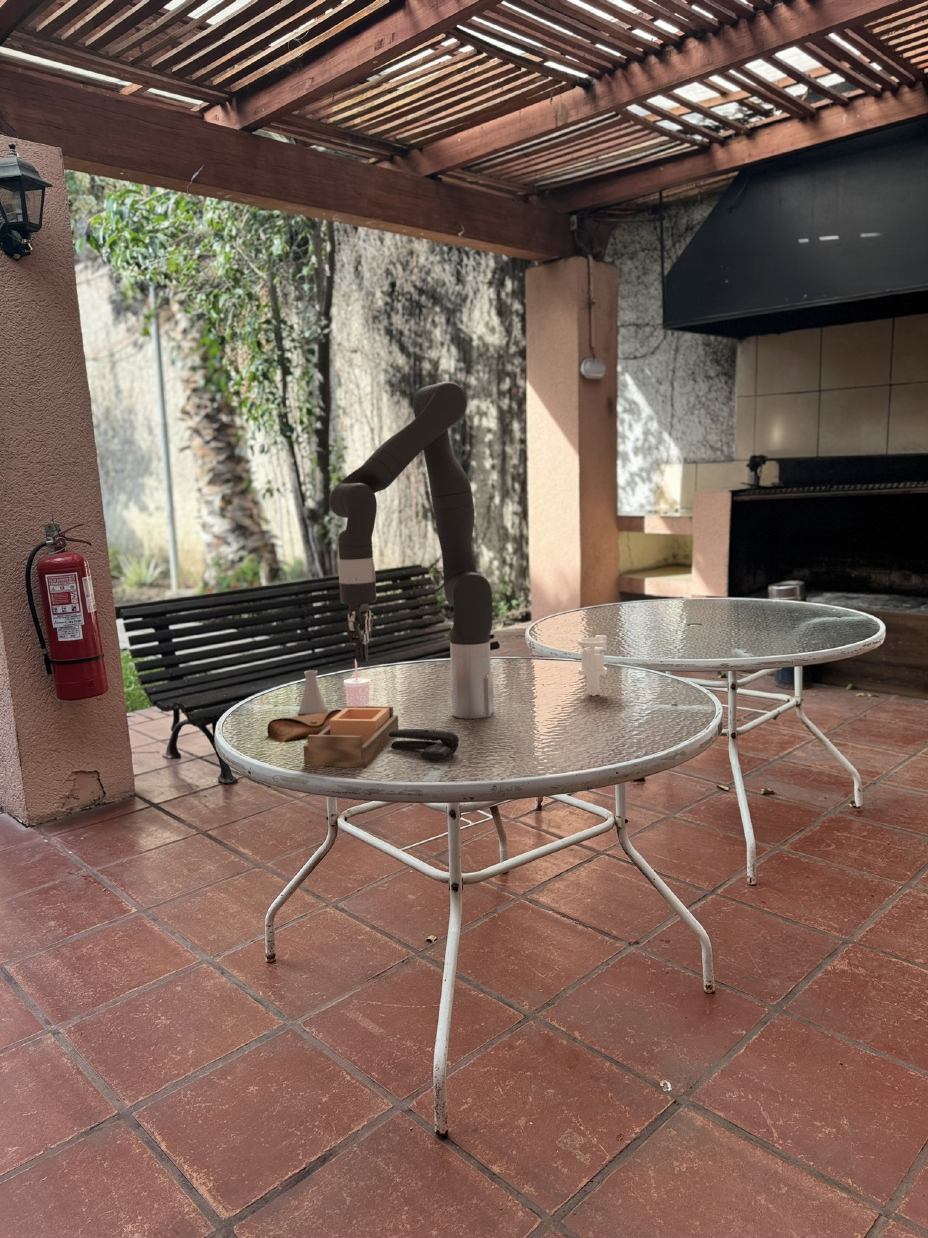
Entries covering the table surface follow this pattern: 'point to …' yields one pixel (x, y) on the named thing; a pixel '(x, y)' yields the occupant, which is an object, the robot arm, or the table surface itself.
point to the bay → (348, 745)
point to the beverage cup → (357, 690)
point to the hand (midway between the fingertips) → (362, 661)
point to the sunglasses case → (299, 726)
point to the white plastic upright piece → (593, 660)
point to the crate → (359, 722)
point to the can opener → (427, 743)
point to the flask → (312, 696)
